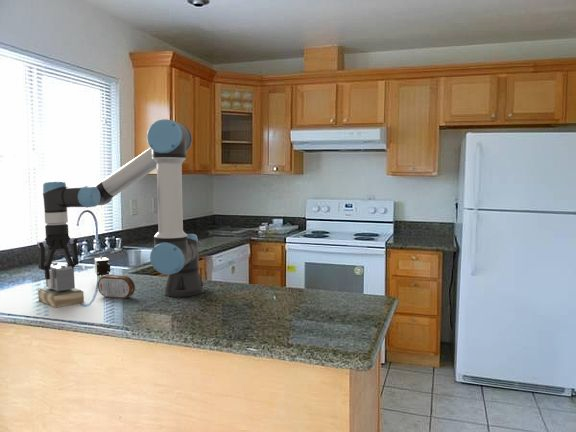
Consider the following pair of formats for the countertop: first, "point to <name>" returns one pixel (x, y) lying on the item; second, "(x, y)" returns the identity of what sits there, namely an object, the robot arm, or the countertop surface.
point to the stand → (60, 297)
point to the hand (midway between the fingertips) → (60, 286)
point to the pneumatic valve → (102, 267)
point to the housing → (62, 277)
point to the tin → (116, 286)
